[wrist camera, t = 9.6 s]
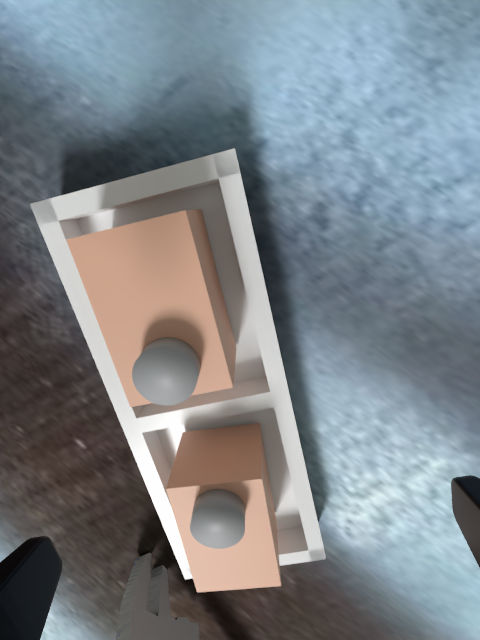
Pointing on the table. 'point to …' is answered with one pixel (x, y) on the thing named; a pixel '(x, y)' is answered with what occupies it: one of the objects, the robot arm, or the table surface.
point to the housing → (247, 326)
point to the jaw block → (159, 307)
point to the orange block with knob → (225, 508)
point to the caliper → (150, 607)
